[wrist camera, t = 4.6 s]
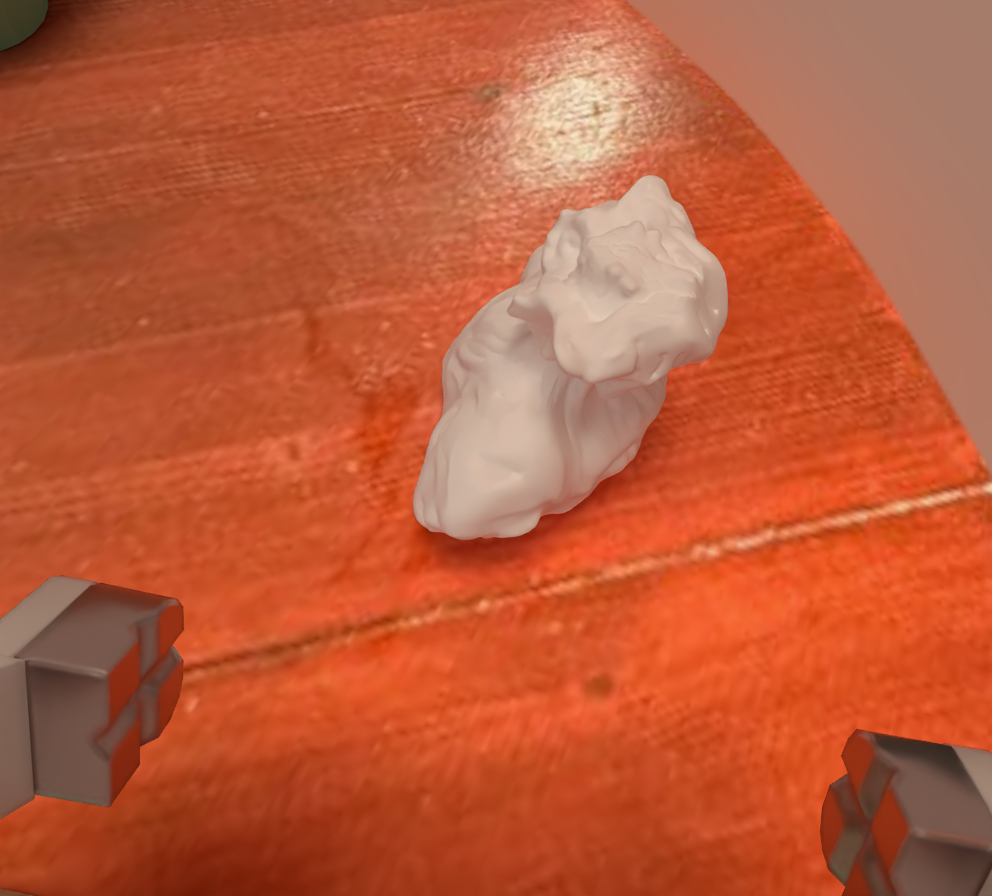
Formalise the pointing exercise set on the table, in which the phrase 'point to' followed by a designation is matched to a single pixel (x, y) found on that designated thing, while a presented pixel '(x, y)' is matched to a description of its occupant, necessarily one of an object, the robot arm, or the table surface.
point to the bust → (569, 365)
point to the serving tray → (12, 893)
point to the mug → (20, 20)
